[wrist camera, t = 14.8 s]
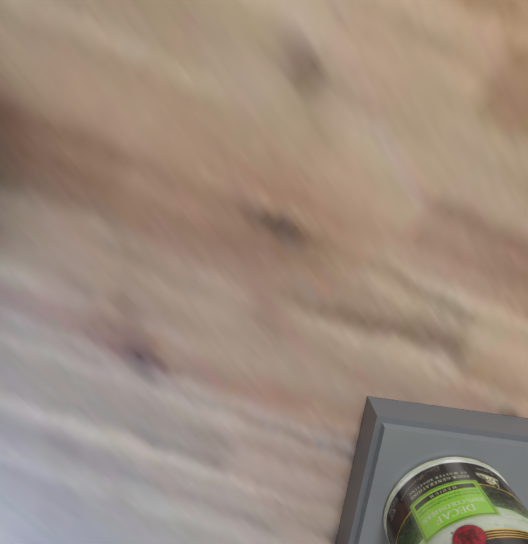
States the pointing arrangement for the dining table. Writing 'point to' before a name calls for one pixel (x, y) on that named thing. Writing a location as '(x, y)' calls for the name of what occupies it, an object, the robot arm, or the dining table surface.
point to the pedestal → (423, 456)
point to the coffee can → (454, 506)
